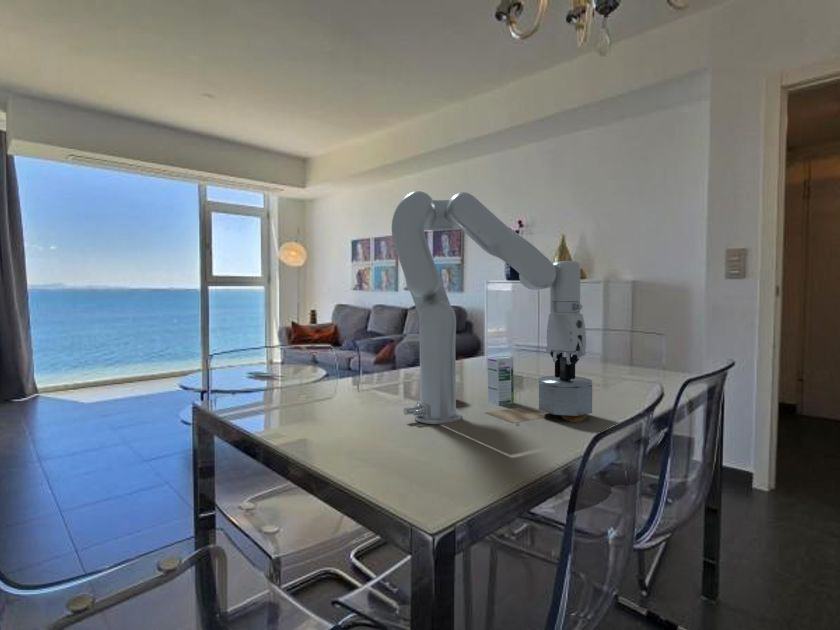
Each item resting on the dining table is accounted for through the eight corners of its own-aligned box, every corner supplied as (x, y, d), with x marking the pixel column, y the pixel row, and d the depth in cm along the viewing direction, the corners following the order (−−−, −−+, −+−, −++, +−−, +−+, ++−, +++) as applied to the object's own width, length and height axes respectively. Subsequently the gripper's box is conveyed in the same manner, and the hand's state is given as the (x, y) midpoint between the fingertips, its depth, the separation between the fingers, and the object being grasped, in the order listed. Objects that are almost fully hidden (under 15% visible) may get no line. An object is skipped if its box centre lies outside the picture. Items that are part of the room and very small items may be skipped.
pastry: (588, 426, 119) (587, 411, 119) (560, 424, 121) (560, 409, 121) (585, 416, 128) (585, 402, 128) (559, 415, 130) (559, 401, 130)
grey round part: (565, 418, 116) (565, 362, 116) (527, 407, 128) (527, 356, 128) (603, 411, 123) (604, 358, 122) (564, 401, 135) (564, 352, 134)
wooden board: (512, 425, 120) (512, 422, 120) (484, 415, 130) (484, 412, 130) (548, 418, 125) (548, 416, 125) (518, 409, 136) (518, 407, 136)
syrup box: (498, 407, 139) (497, 358, 139) (487, 403, 145) (487, 355, 144) (514, 405, 141) (514, 356, 141) (502, 401, 147) (502, 354, 146)
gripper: (600, 308, 119) (599, 381, 120) (553, 307, 133) (552, 372, 134) (579, 309, 116) (578, 384, 116) (532, 308, 130) (532, 374, 131)
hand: (564, 377), depth 125 cm, fingers closed on grey round part, 2 cm apart
